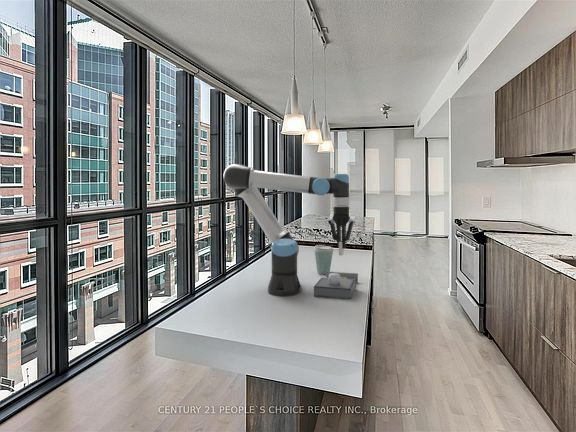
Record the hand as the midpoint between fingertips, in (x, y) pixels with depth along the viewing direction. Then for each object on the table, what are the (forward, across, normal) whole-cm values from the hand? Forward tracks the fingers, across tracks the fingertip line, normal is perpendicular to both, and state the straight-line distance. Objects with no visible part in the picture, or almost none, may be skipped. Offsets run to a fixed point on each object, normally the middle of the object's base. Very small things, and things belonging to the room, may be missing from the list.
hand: (341, 254), depth 188 cm
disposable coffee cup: (+15, +17, -17) cm, 29 cm away
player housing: (+15, -3, +15) cm, 21 cm away
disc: (+13, 0, +2) cm, 13 cm away
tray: (+15, 0, +2) cm, 15 cm away
